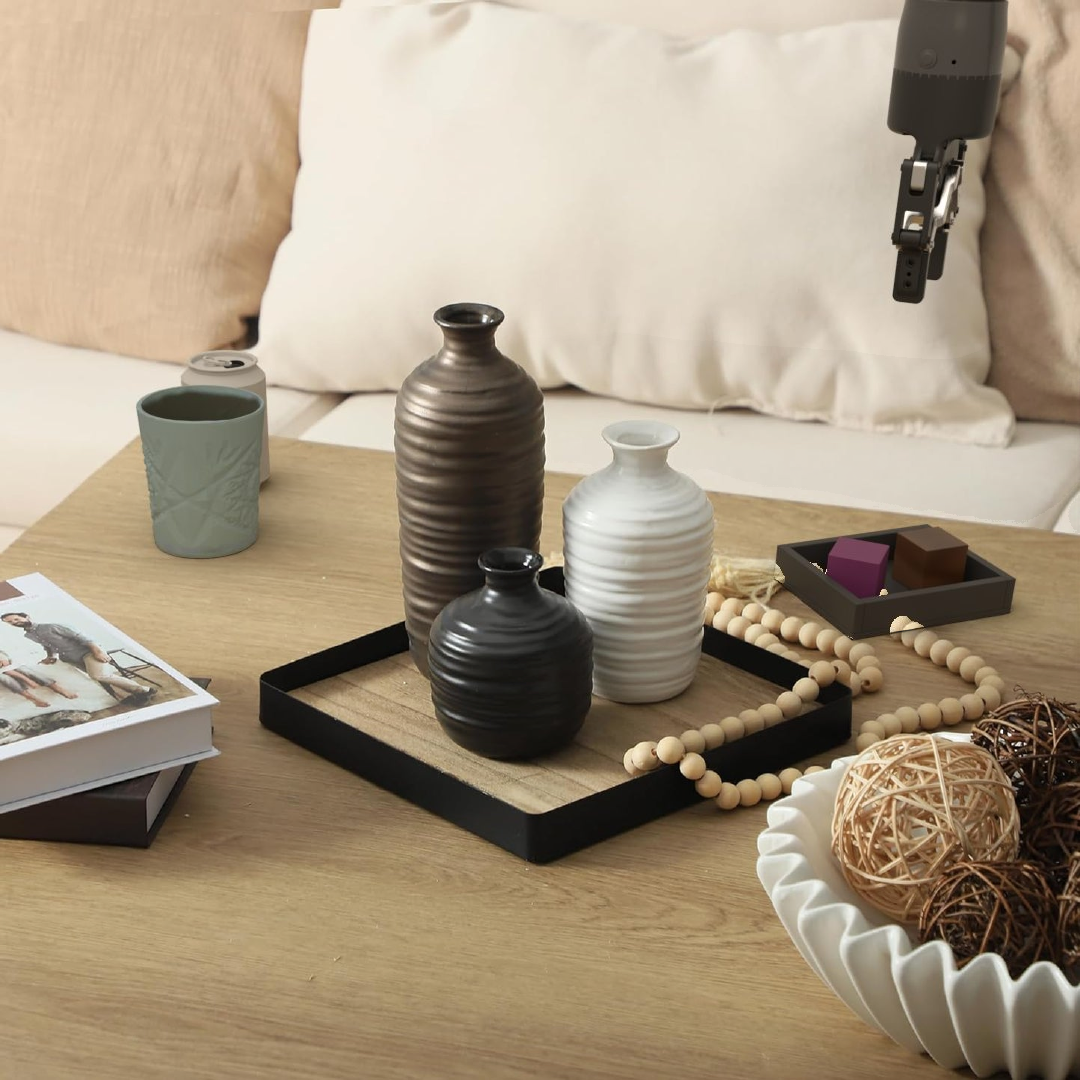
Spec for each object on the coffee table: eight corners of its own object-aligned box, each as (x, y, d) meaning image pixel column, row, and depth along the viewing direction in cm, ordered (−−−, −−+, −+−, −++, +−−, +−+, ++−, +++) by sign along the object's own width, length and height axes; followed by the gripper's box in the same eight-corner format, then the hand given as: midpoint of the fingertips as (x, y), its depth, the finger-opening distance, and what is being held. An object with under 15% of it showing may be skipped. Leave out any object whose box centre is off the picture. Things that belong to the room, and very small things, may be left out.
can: (266, 498, 133) (260, 370, 128) (182, 498, 132) (173, 369, 127) (273, 468, 140) (268, 346, 135) (193, 468, 139) (185, 345, 134)
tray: (922, 555, 125) (927, 523, 124) (1010, 613, 116) (1016, 578, 114) (773, 578, 120) (776, 544, 119) (851, 640, 110) (856, 604, 109)
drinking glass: (126, 532, 125) (114, 397, 120) (231, 506, 131) (224, 376, 126) (184, 572, 118) (174, 430, 113) (293, 542, 124) (288, 406, 119)
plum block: (834, 581, 119) (839, 536, 117) (883, 591, 117) (889, 545, 116) (822, 600, 115) (828, 554, 114) (873, 611, 114) (880, 563, 112)
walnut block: (931, 570, 121) (938, 526, 120) (961, 590, 118) (969, 544, 116) (890, 577, 120) (897, 532, 118) (919, 597, 117) (926, 551, 115)
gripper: (988, 78, 97) (953, 317, 104) (1014, 61, 110) (981, 276, 116) (875, 70, 100) (848, 304, 107) (912, 54, 112) (886, 265, 119)
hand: (917, 289), depth 111 cm, fingers open, 8 cm apart
